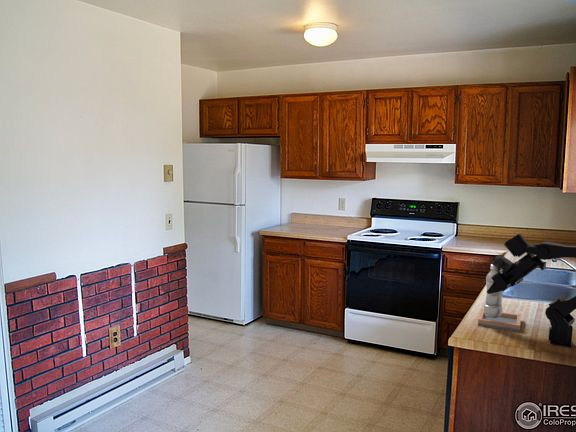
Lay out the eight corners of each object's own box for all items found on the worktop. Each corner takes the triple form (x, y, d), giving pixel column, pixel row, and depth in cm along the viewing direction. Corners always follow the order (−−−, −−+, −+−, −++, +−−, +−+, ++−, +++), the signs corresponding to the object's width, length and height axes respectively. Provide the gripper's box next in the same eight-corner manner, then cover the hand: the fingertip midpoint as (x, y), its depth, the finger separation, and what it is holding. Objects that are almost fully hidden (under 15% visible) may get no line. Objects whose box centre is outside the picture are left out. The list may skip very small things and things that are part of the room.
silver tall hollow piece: (479, 315, 186) (482, 263, 184) (491, 313, 189) (494, 262, 187) (493, 320, 180) (497, 267, 178) (506, 318, 184) (509, 265, 181)
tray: (520, 320, 193) (520, 314, 193) (519, 331, 181) (520, 325, 180) (480, 314, 200) (481, 309, 199) (477, 325, 187) (478, 319, 186)
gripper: (516, 246, 186) (485, 270, 195) (498, 252, 173) (466, 278, 181) (537, 270, 182) (504, 293, 190) (521, 278, 168) (486, 303, 177)
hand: (490, 291), depth 185 cm, fingers closed on silver tall hollow piece, 6 cm apart
